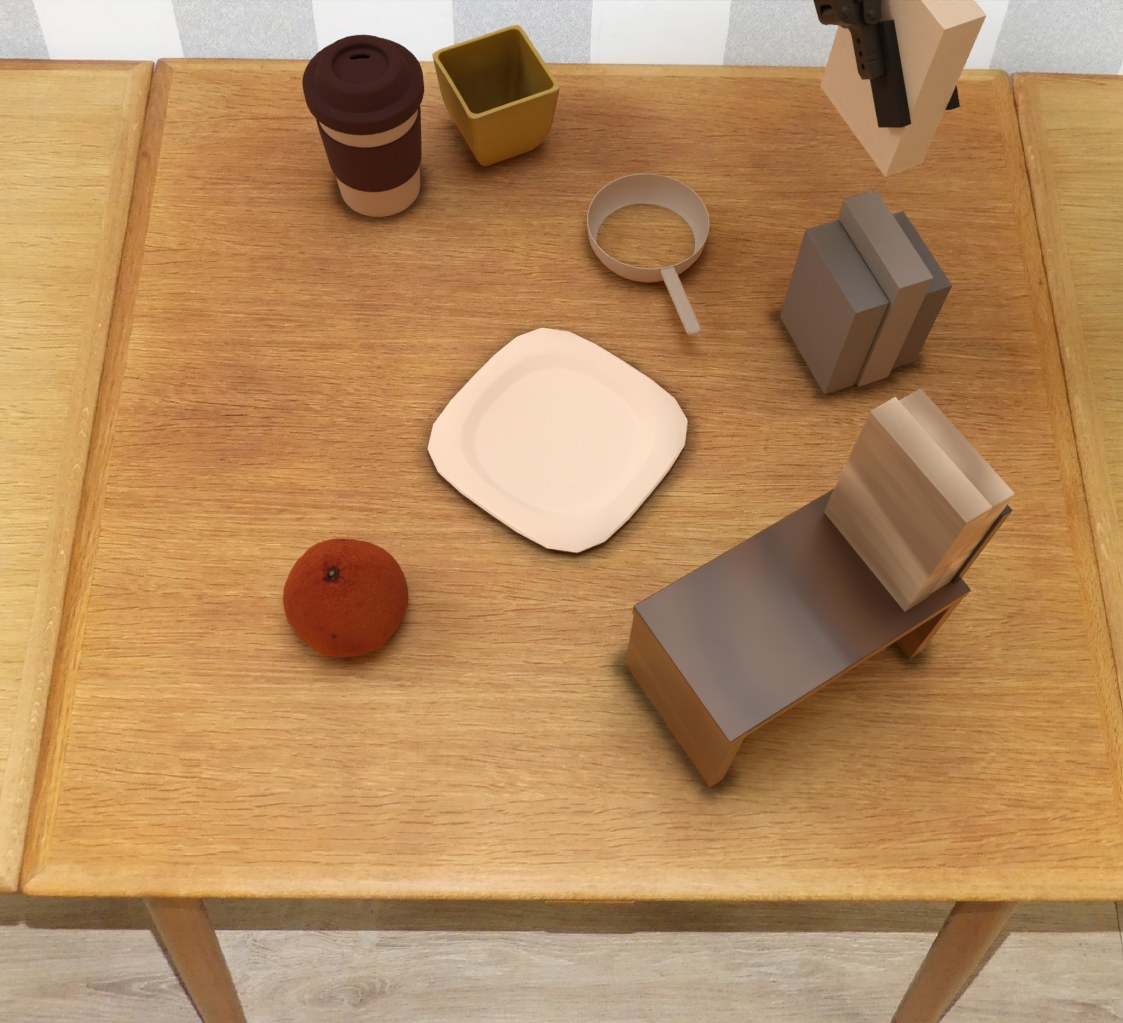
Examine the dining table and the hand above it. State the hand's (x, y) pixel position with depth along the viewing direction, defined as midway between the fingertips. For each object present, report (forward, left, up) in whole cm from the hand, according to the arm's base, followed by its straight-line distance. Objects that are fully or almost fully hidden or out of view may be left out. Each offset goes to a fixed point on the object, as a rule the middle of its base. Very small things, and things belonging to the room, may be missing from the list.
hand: (918, 116), depth 80 cm
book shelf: (+4, +28, -28) cm, 40 cm away
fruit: (+36, +28, -28) cm, 54 cm away
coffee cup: (+41, -14, -28) cm, 52 cm away
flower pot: (+31, -21, -28) cm, 47 cm away
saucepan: (+15, -7, -28) cm, 32 cm away
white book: (+2, -3, -5) cm, 6 cm away
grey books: (-1, -1, -28) cm, 28 cm away
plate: (+22, +11, -28) cm, 37 cm away
